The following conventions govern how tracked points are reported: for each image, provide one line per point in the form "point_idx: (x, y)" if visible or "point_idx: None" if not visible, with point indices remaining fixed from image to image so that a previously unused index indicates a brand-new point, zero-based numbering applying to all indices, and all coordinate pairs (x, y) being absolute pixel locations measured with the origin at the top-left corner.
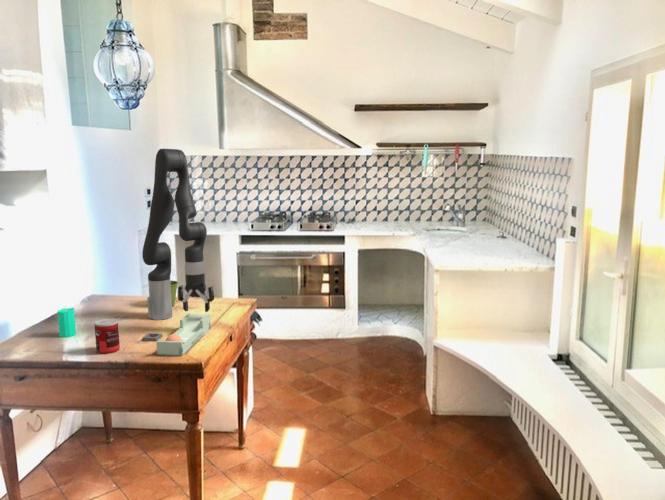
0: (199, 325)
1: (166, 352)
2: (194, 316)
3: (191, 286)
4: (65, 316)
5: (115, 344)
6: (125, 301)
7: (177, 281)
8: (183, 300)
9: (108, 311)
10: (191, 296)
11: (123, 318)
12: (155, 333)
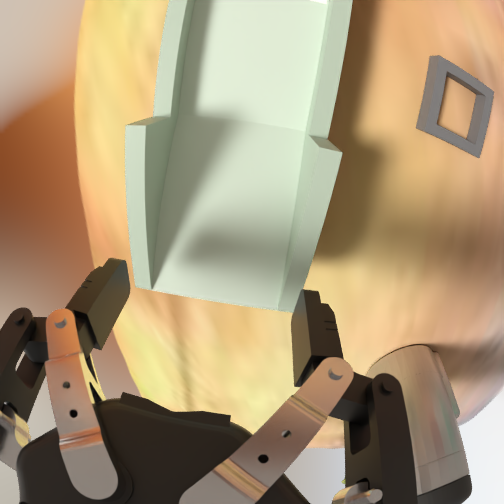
0: (191, 175)
1: None
2: (244, 279)
3: None
4: None
5: None
6: None
7: (344, 483)
8: (341, 378)
9: (488, 376)
10: (229, 423)
11: (486, 346)
12: (454, 142)
